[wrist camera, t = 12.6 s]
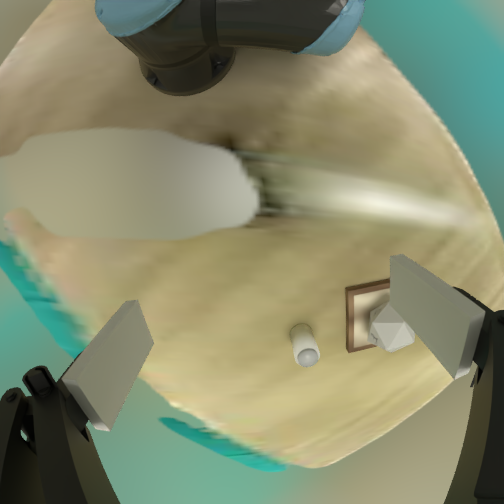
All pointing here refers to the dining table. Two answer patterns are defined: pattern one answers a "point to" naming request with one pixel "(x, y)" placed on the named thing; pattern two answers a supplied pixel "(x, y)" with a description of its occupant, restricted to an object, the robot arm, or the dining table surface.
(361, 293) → the board
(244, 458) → the dining table surface
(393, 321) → the die
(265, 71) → the dining table surface
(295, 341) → the shaker
